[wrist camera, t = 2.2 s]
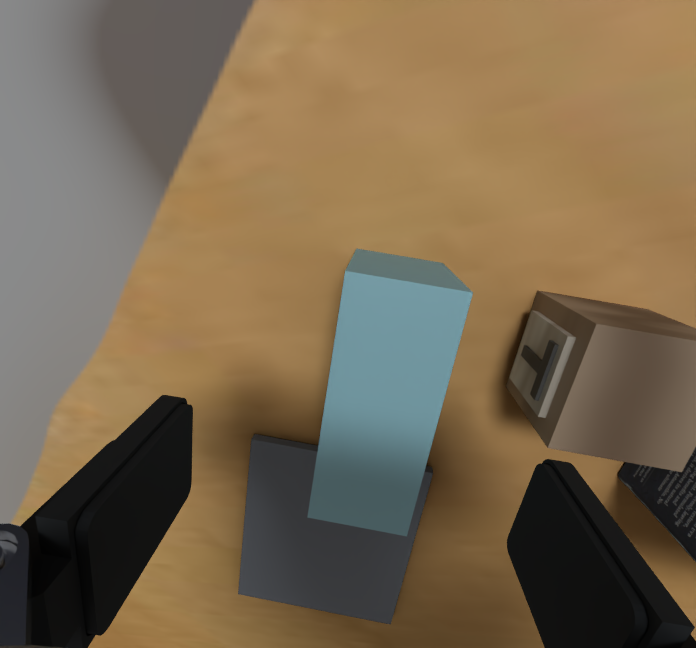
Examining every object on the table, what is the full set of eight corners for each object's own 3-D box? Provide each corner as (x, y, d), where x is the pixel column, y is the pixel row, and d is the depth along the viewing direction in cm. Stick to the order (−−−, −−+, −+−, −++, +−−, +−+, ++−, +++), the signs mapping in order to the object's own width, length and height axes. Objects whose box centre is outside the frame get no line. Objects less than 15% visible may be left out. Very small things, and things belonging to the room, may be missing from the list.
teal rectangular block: (442, 262, 17) (472, 292, 11) (399, 443, 20) (406, 536, 15) (356, 248, 17) (345, 271, 12) (327, 430, 20) (307, 517, 15)
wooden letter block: (646, 308, 17) (748, 350, 12) (605, 403, 19) (681, 472, 14) (527, 288, 17) (583, 321, 12) (496, 384, 19) (535, 445, 14)
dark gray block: (431, 466, 20) (433, 473, 20) (390, 616, 24) (390, 624, 24) (254, 433, 21) (251, 439, 20) (240, 586, 25) (238, 593, 24)
